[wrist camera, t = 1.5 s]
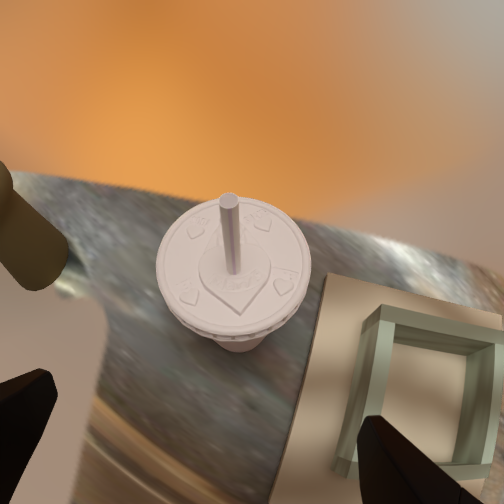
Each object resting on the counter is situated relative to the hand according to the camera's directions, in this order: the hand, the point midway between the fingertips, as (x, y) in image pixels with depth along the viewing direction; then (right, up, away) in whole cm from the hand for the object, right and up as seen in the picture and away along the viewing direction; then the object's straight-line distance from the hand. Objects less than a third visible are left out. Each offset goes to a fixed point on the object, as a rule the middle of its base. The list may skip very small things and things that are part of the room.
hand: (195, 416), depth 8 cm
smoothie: (+1, -1, +14) cm, 14 cm away
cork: (-17, +4, +16) cm, 23 cm away
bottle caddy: (+12, -6, +11) cm, 17 cm away
